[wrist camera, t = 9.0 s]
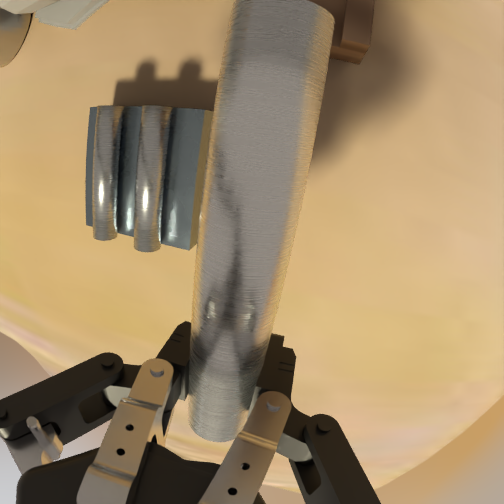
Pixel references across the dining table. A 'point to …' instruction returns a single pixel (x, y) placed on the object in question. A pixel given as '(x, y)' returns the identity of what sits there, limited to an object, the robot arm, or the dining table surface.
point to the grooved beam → (350, 27)
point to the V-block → (146, 173)
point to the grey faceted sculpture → (56, 10)
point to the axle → (252, 199)
